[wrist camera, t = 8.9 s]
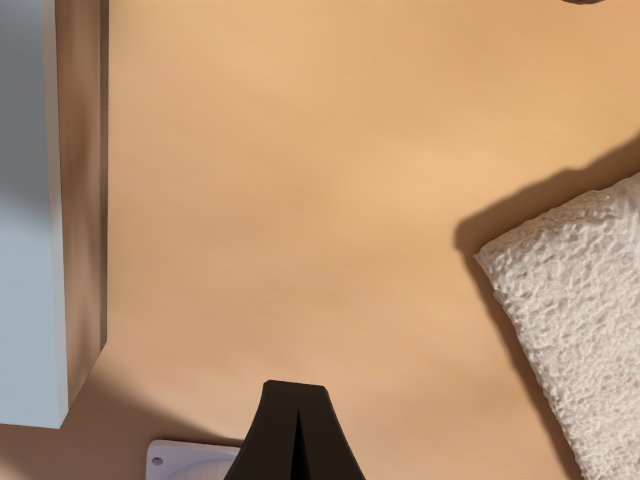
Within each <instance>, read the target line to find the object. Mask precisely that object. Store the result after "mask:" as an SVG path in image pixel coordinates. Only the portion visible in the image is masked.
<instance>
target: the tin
mask: <svg viewBox="0 0 640 480" xmlns="http://www.w3.org/2000/svg"><path fill="white" fill-rule="evenodd" d="M562 1H565V2H569V3H573V4H580V5H582V4H595V3H598V2H601V1H604V0H562Z"/></svg>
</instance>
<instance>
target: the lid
mask: <svg viewBox="0 0 640 480" xmlns="http://www.w3.org/2000/svg"><path fill="white" fill-rule="evenodd" d="M67 413H68V383H67V353H66V323H65V294H64V264H63V234H62V204H61V175H60V145H59V115H58V86H57V56H56V26H55V0H0V423H3V424H14V425H24V426H35V427H45V428H56V429H60V427H61V425H62V423H63V421H64V419H65V417H66V415H67Z"/></svg>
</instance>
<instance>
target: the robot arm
mask: <svg viewBox="0 0 640 480" xmlns="http://www.w3.org/2000/svg"><path fill="white" fill-rule="evenodd" d="M156 457H159V458H161V459H159V458H156ZM146 480H366V479H365V477H364V475H363V473H362V471H361V469H360V467H359V465H358V463H357V461H356V459H355V457H354V455H353V453H352V451H351V449H350V447H349V445H348V442H347V440H346V438H345V436H344V433H343V431H342V429H341V426H340V424H339V422H338V419H337V417H336V414H335V411H334V409H333V406H332V403H331V400H330V397H329V394H328V391H327V390H326V388H325V387H324V386H319V385H310V384H302V383H293V382H285V381H276V380H268V381H267V382H265V383H264V385H263V391H262V396H261V400H260V403H259V407H258V409H257V412H256V415H255V417H254V420H253V422H252V425H251V427H250V429H249V431H248V433H247V436H246V438H245V440H244V442H243V444H242V446H241V448H237V447H227V446H217V445H208V444H198V443H188V442H178V441H169V440H154V441H152V442H151V443H150V445H149V447H148V451H147V464H146Z"/></svg>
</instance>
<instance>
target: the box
mask: <svg viewBox="0 0 640 480" xmlns="http://www.w3.org/2000/svg"><path fill="white" fill-rule="evenodd" d="M55 26H56V56H57V86H58V115H59V145H60V175H61V204H62V234H63V264H64V294H65V323H66V353H67V383H68V410H70V408H71V406H72V404H73V402H74V400H75V399H76V397H77V395H78V393H79V391H80V389H81V388H82V386H83V384H84V382H85V380H86V378H87V377H88V375H89V373H90V371H91V369H92V367H93V366H94V364H95V362H96V360H97V358H98V356H99V355H100V353H101V351H102V349H103V347H104V345H105V344H106V342H107V217H108V56H109V0H55Z"/></svg>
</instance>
